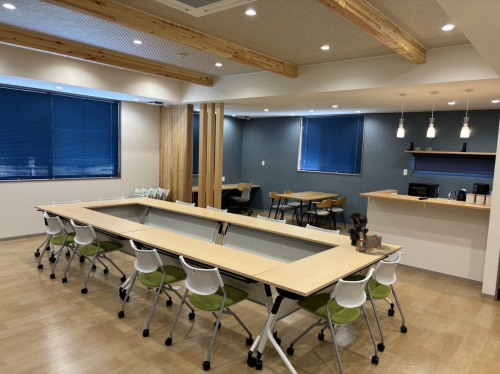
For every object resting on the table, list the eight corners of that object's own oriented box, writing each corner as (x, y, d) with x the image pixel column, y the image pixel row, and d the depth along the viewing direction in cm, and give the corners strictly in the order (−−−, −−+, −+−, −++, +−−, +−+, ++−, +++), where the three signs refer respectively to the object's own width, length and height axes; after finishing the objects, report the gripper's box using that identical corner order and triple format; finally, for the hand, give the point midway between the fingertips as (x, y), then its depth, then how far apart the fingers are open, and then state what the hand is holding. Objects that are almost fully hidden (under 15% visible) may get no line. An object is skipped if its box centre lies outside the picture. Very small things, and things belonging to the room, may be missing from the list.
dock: (359, 250, 330) (359, 248, 329) (364, 247, 339) (364, 246, 339) (368, 252, 324) (368, 250, 324) (373, 249, 333) (373, 248, 333)
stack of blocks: (375, 243, 357) (377, 232, 356) (381, 245, 352) (382, 233, 351) (362, 246, 345) (363, 233, 344) (367, 247, 340) (368, 235, 339)
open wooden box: (355, 251, 325) (356, 239, 324) (361, 251, 326) (363, 239, 325) (359, 253, 319) (360, 241, 318) (365, 253, 320) (366, 241, 319)
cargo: (357, 250, 324) (357, 246, 324) (361, 250, 325) (361, 246, 325) (359, 251, 320) (360, 247, 320) (363, 251, 321) (364, 247, 321)
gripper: (350, 219, 325) (354, 234, 315) (368, 219, 328) (373, 234, 319) (345, 225, 333) (349, 240, 324) (363, 226, 337) (368, 240, 327)
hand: (360, 238), depth 323 cm, fingers open, 9 cm apart
